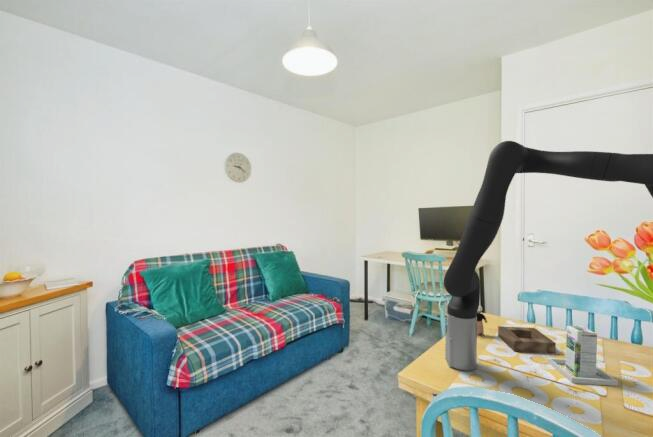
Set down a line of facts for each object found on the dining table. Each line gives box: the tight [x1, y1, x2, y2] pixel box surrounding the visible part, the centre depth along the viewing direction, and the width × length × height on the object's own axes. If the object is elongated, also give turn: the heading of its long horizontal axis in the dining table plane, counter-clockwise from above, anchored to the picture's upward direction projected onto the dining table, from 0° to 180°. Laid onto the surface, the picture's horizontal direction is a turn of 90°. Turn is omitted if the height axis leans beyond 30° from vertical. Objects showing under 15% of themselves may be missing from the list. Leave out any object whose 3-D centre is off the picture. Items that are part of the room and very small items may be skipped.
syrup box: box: [564, 325, 598, 379], centre depth 96 cm, size 6×6×14 cm
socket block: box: [497, 325, 557, 355], centre depth 117 cm, size 14×14×4 cm
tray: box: [547, 357, 619, 387], centre depth 96 cm, size 12×12×2 cm
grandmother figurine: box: [477, 304, 488, 337], centre depth 126 cm, size 8×4×13 cm, turn 108°
